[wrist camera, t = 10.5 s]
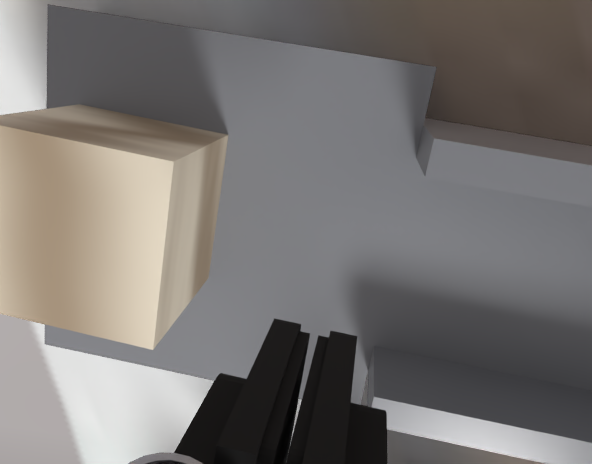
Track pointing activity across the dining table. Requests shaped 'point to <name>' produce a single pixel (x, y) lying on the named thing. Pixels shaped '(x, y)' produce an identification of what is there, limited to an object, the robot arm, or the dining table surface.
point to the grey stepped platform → (364, 231)
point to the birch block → (105, 220)
